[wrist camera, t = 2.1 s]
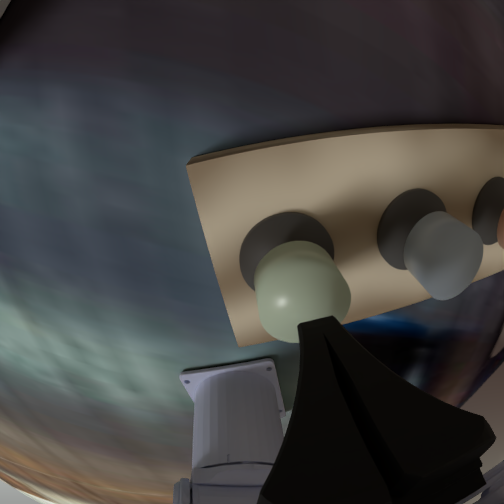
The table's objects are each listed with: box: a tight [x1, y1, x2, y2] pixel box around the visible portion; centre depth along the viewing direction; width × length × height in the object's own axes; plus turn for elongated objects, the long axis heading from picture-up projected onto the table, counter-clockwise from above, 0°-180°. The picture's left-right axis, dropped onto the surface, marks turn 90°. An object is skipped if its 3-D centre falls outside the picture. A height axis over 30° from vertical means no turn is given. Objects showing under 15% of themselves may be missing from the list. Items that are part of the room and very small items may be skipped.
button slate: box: [404, 211, 483, 300], centre depth 13 cm, size 4×4×2 cm
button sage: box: [254, 241, 351, 343], centre depth 13 cm, size 4×4×2 cm
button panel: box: [186, 124, 504, 347], centre depth 17 cm, size 12×24×3 cm, turn 101°
